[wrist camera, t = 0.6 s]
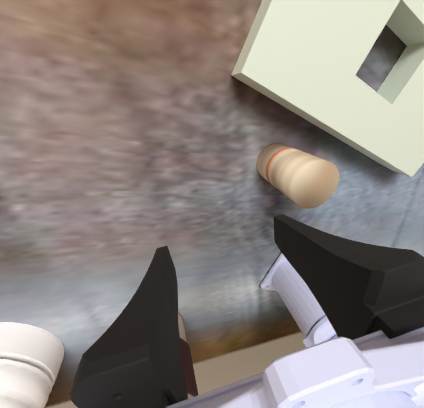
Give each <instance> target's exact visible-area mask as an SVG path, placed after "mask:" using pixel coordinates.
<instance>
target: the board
mask: <svg viewBox="0 0 424 408" xmlns="http://www.w3.org/2000/svg"><path fill="white" fill-rule="evenodd" d="M385 25H387V26H388V27H389V28H390V29H391V30H392V31H393V32H394V33H395V34H396V35H397V36H398V37H399V38H400V39H401V41H402V42H403V43H404V44H405V45H406V46H407V47H406V48H405V50H404V51H403V53H402V54H401V56H400V57H399V59H398V60H397V62H396V63H395V65H394V67H393V68H392V70H391V71H390V73H389V74H388V76H387V77H386V79H385V80H384V82H383V83H382V85H381V86H380V88H379V90H378V91H377V92H376V91H374V90H373V89H372V88H371V87H369V86H368V85H367V84H366V83H364V82H363V81H362V80H361V79H359V78H358V77H357V76H356V73H357V71H358V70H359V68H360V66H361V65H362V63H363V61H364V60H365V58H366V56H367V55H368V53H369V51H370V50H371V48H372V46H373V45H374V43H375V41H376V40H377V38H378V36H379V35H380V33H381V31H382V30H383V28H384V26H385ZM231 76H233V77H235V78H236V79H238V80H240V81H241V82H243V83H245V84H246V85H248V86H250V87H252V88H253V89H255V90H257V91H258V92H260V93H262V94H263V95H265V96H267V97H268V98H270V99H272V100H273V101H275V102H277V103H278V104H280V105H282V106H284V107H285V108H287V109H289V110H290V111H292V112H294V113H295V114H297V115H299V116H300V117H302V118H304V119H305V120H307V121H309V122H310V123H312V124H314V125H316V126H317V127H319V128H321V129H322V130H324V131H326V132H327V133H329V134H331V135H332V136H334V137H336V138H337V139H339V140H341V141H342V142H344V143H346V144H348V145H349V146H351V147H353V148H354V149H356V150H358V151H359V152H361V153H363V154H364V155H366V156H368V157H369V158H371V159H373V160H374V161H376V162H378V163H380V164H381V165H383V166H385V167H386V168H388V169H390V170H391V171H394V172H398V173H401V174H404V175H407V176H410V177H412V176H413V175H414V174H415V173H416V171H417V170H418V169H419V168H420V167H421V165H422V164H423V163H424V0H262V2H261V5H260V7H259V10H258V12H257V15H256V17H255V19H254V22H253V24H252V27H251V29H250V31H249V34H248V36H247V39H246V41H245V43H244V46H243V48H242V51H241V53H240V55H239V58H238V60H237V63H236V65H235V68H234V70H233V72H232V75H231Z"/></svg>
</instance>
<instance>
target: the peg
mask: <svg viewBox="0 0 424 408" xmlns="http://www.w3.org/2000/svg"><path fill="white" fill-rule="evenodd" d="M257 170H258V173H259V174H260V175H261V176H262V177H263V178H264V179H266V180H267V181H268V182H269V183H270V184H272V185H273V186H274V187H276V188H277V189H278V190H280V191H281V192H282V193H283V194H285V195H286V196H287V197H289V198H290V199H291V200H292V201H294V202H295V203H296V204H297V205H299V206H300V207H302V208H315V207H318V206H320V205H322V204H323V203H325V202H326V201H327V200H328V199H329V198H330V197H331V196H332V195H333V193H334V192H335V190H336V188H337V186H338V182H339V172H338V169H337V167H336V166H335V165H334V164H333V163H331V162H328V161H326V160H323V159H320V158H318V157H315V156H313V155H310V154H307V153H305V152H302V151H300V150H298V149H295V148H292V147H289V146H287V145H284V144H281V143H273V144H270V145H268V146H267V147H265V148H264V149H263V150H262V152H261V153H260V155H259V157H258V159H257Z"/></svg>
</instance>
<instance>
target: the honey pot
mask: <svg viewBox="0 0 424 408" xmlns="http://www.w3.org/2000/svg"><path fill="white" fill-rule="evenodd" d="M64 350H65V349H64V347H63V345H62V342H61V341H60V340H59V339H58V338H57V337H56V336H55V335H53V334H51V333H49V332H48V331H46V330H44V329H41V328H38V327H35V326H31V325H27V324H20V323H13V322H0V408H44V407H45V405H46V403H47V401H48V398H49V394H50V392H51V391H52V387H53V385H54V383H55V380H56V377H57V375H58V372H59V369H60V366H61V364H62V361H63V358H64Z"/></svg>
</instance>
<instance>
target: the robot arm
mask: <svg viewBox="0 0 424 408" xmlns="http://www.w3.org/2000/svg"><path fill="white" fill-rule="evenodd" d="M274 240H275V242H276V244H277V246H278V248H279V249H280V251H281V255H280V256H279V258H278V259H277V261H276V262H275V264H274V265H273V267H272V268H271V270H270V271H269V273H268V274H267V276H266V277H265V278H264V280H263V281H262V283H261V284H260V287H261V289H266V290H272V291H277V292H278V293H279V295H280V297H281V298H282V300H283V302H284V303H285V305H286V307H287V308H288V310H289V312H290V313H291V315H292V317H293V318H294V320H295V322H296V323H297V325H298V327H299V328H300V330H301V331H302V333H303V334H304V336H305V339H304V340H303V343H304V345H305V347H306V348H304V349H301V350H298V351H295V352H292V353H290V354H287V355H284V356H282V357H280V358H278V359H276V360H274V361H272V362H271V363H270V364H269V365H268V366H267V367H266V368H265V371H264V372H262V373H259V374H257V375H254V376H251V377H249V378H246V379H243V380H240V381H237V382H234V383H232V384H229V385H226V386H223V387H220V388H218V389H215V390H212V391H209V392H206V393H204V394H201V395H198V396H195V397H193V398H190V399H188V394H187V387H186V380H185V373H184V366H183V358H182V351H181V343H180V334H179V325H178V291H177V278H176V271H175V267H174V264H173V261H172V258H171V256H170V253H169V250H168V247H167V246H164V247H161V248H157V250H156V252H155V255H154V257H153V260H152V262H151V264H150V267H149V269H148V271H147V273H146V275H145V277H144V279H143V281H142V282H141V284H140V286H139V288H138V290H137V291H136V293H135V294H134V296H133V297H132V299H131V301H130V302H129V303H128V305H127V306H126V308H125V309H124V310H123V311H122V313H121V314H120V315H119V317H118V318H117V319H116V320H115V321H114V323H113V324H112V325H111V326H110V327H109V328H108V329H107V331H106V332H105V333H104V334H103V335H102V336H101V337H100V338H99V339H98V340H97V341H96V342H95V343H94V344H93V345H92V346H91V347H90V348H89V349H88V350H87V351H86V352H85V353H84V354H83V356H82V358H81V361H80V363H79V366H78V369H77V372H76V375H75V379H74V382H73V385H72V388H71V392H70V399H71V400H72V402H73V403H74V404H75V405H76V406H77V407H78V408H424V257H423V256H421V255H420V254H418V253H417V252H415V251H413V250H407V249H398V248H389V247H382V246H376V245H371V244H365V243H361V242H356V241H352V240H348V239H344V238H341V237H338V236H334V235H331V234H328V233H326V232H323V231H320V230H318V229H315V228H313V227H310V226H308V225H305V224H303V223H301V222H299V221H296V220H294V219H292V218H290V217H287V216H285V215H279V216H275V217H274Z"/></svg>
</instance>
